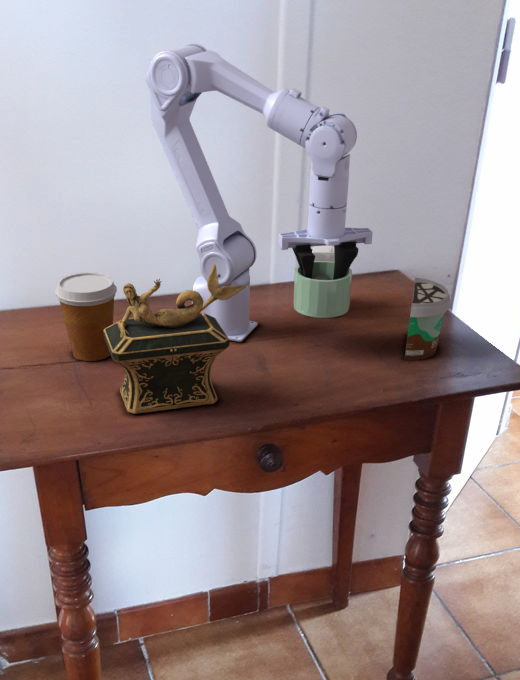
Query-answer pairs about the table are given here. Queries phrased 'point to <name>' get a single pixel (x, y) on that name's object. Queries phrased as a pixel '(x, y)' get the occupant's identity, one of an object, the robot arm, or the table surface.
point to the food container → (426, 318)
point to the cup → (322, 292)
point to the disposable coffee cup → (87, 312)
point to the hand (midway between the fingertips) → (322, 290)
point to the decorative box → (168, 349)
